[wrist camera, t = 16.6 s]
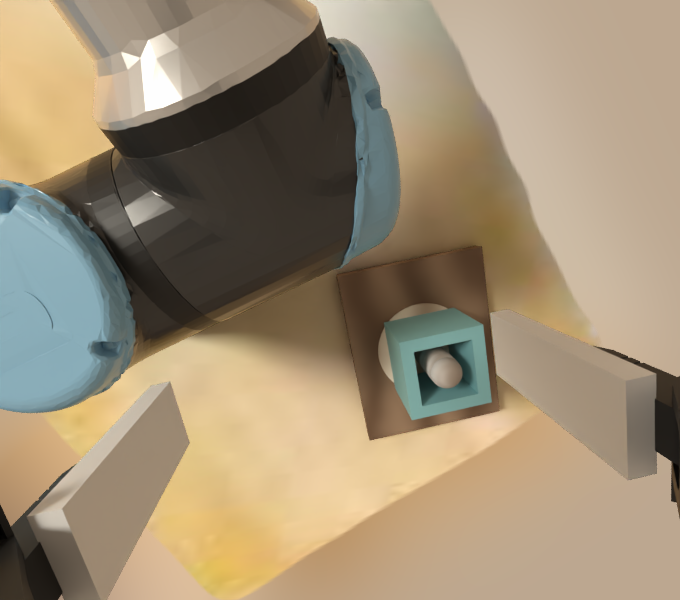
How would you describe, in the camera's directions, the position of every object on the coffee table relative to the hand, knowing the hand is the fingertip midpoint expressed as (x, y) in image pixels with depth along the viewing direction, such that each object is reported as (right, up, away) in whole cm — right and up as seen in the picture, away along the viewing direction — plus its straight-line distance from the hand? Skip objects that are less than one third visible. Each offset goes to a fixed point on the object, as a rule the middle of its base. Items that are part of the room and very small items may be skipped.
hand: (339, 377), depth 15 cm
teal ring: (+9, -2, +27) cm, 29 cm away
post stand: (+9, -2, +29) cm, 30 cm away
